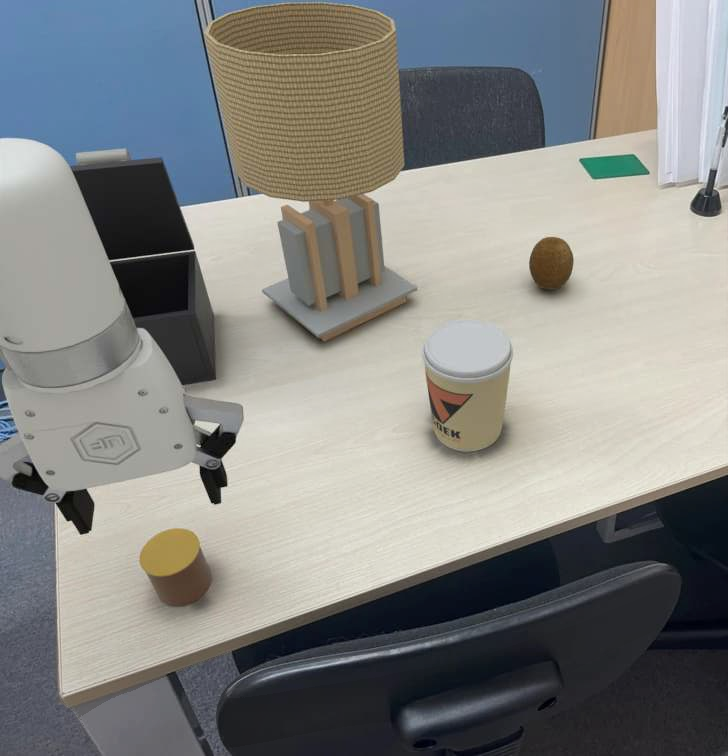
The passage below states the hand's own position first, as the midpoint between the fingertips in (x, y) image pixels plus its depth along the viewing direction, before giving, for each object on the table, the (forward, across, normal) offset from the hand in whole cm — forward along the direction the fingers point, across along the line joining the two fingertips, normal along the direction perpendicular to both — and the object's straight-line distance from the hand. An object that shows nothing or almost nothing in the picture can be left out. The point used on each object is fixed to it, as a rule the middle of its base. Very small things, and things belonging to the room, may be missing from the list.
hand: (153, 505), depth 57 cm
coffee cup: (+12, +30, +12) cm, 34 cm away
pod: (+11, 0, 0) cm, 11 cm away
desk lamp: (+12, +20, +40) cm, 46 cm away
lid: (-6, -3, +39) cm, 39 cm away
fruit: (+12, +48, +36) cm, 62 cm away
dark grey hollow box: (+11, -4, +35) cm, 37 cm away
